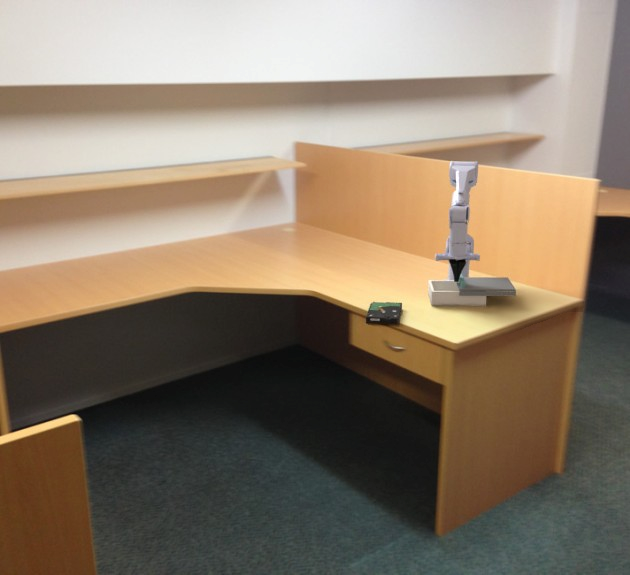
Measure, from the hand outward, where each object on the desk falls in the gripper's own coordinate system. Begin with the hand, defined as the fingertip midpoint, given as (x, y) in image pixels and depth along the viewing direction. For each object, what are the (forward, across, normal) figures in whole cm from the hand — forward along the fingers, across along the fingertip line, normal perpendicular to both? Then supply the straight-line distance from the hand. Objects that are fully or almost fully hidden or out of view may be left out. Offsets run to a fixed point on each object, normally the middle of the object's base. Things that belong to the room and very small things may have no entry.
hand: (456, 280), depth 233 cm
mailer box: (+7, 0, 0) cm, 7 cm away
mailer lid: (+3, +9, 0) cm, 10 cm away
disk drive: (+8, -25, -16) cm, 30 cm away
